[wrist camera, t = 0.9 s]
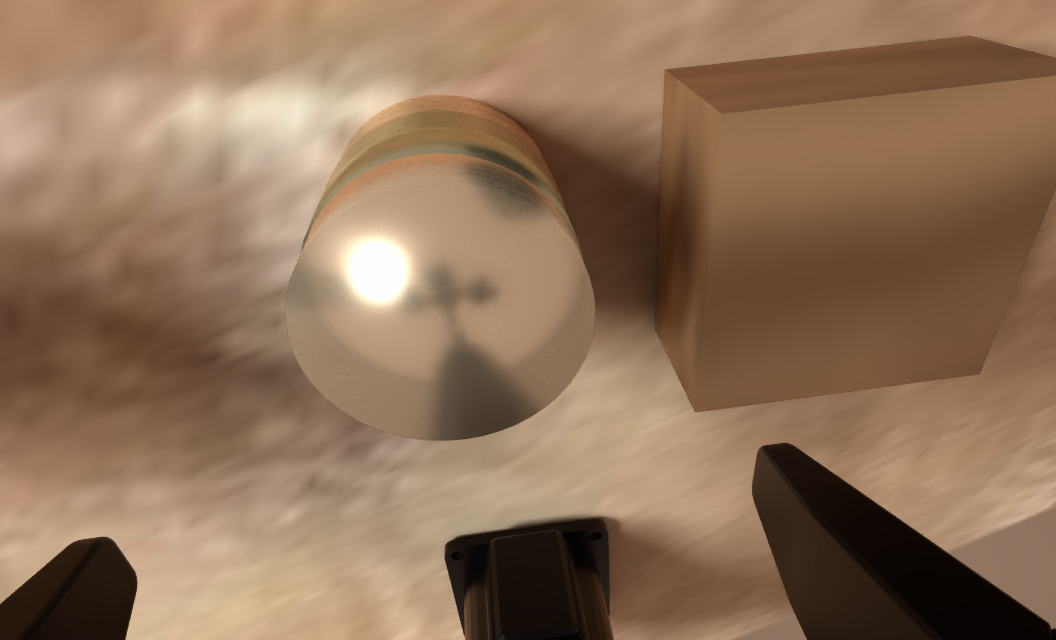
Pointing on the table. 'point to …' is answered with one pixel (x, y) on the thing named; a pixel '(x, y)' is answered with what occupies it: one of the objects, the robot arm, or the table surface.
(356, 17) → the table surface
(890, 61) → the block
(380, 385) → the tin
